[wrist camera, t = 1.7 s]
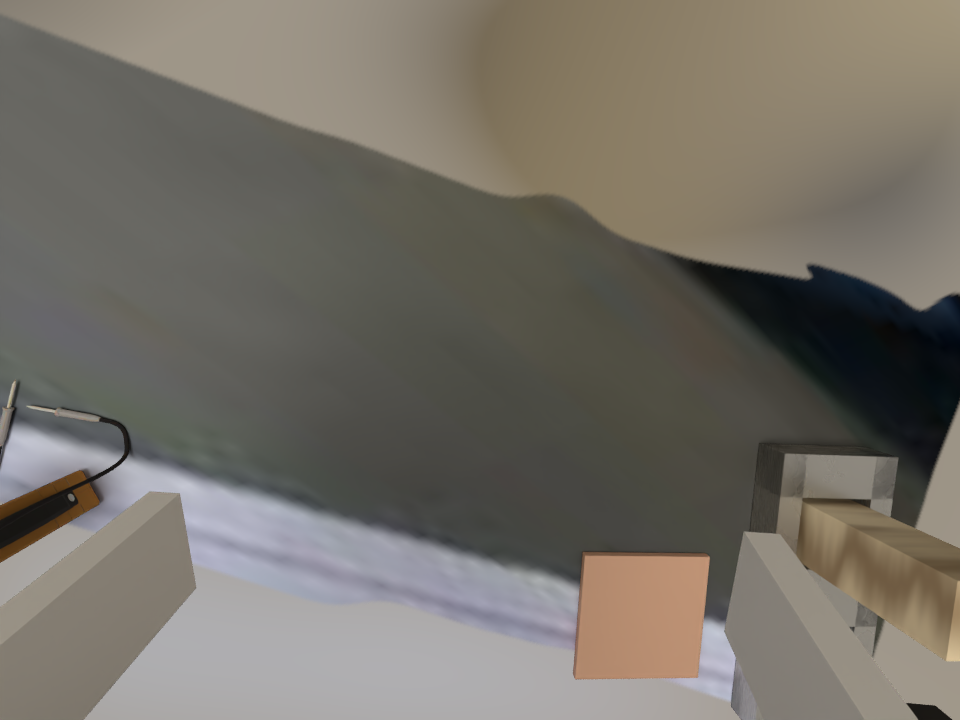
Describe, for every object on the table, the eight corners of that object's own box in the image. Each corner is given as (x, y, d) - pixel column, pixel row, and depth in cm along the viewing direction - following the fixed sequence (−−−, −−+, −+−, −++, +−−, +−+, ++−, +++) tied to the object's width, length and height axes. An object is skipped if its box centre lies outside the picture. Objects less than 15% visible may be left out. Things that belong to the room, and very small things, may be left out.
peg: (826, 545, 42) (1020, 660, 28) (774, 545, 42) (946, 661, 28) (832, 491, 42) (1033, 581, 28) (780, 490, 41) (957, 580, 28)
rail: (832, 704, 44) (861, 733, 41) (730, 706, 43) (753, 735, 40) (864, 446, 42) (898, 457, 39) (759, 443, 41) (785, 453, 38)
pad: (693, 672, 42) (697, 677, 42) (573, 674, 41) (575, 679, 41) (705, 553, 41) (709, 557, 41) (582, 551, 40) (584, 555, 40)
